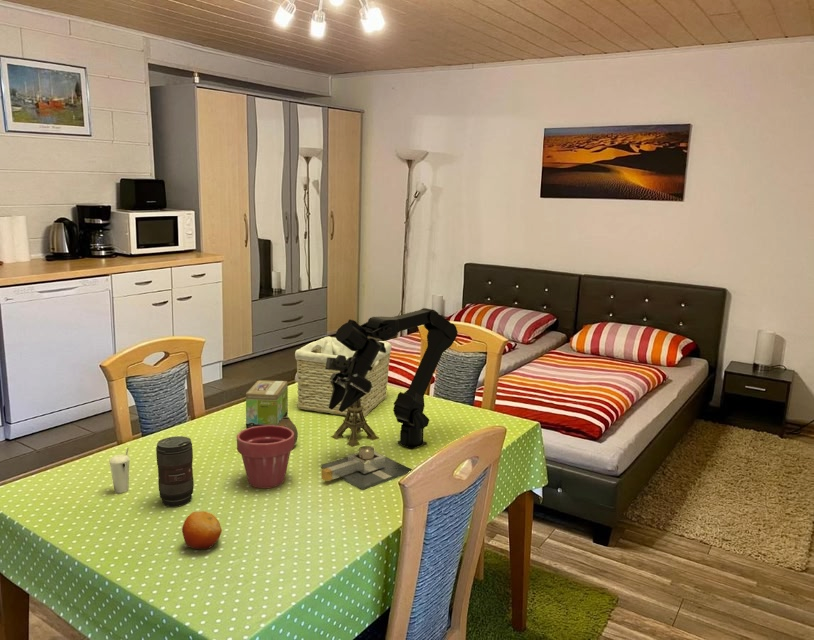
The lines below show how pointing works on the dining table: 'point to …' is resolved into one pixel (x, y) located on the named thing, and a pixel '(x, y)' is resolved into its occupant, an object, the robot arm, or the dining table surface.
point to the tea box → (266, 403)
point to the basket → (317, 378)
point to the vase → (289, 426)
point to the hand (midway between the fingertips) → (335, 410)
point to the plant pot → (265, 454)
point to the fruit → (201, 530)
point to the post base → (373, 477)
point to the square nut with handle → (353, 466)
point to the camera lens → (175, 470)
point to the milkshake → (120, 472)
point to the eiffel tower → (354, 425)
